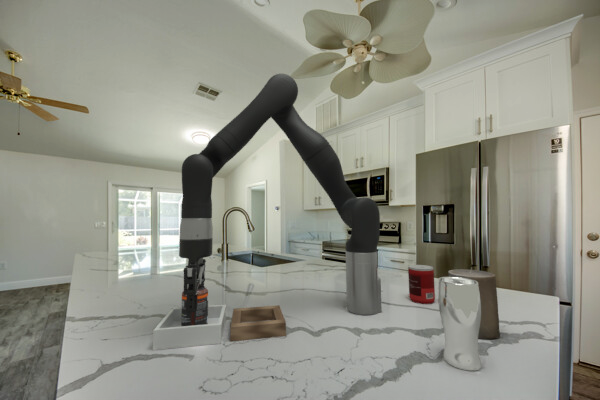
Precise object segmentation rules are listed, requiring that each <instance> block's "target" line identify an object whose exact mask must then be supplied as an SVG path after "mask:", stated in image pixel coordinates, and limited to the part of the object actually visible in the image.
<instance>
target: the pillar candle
mask: <svg viewBox="0 0 600 400" xmlns="http://www.w3.org/2000/svg"><path fill="white" fill-rule="evenodd" d="M448 277H460V278H467V279H472V280H475V281H477V282H478V286H479V292H480V299H481V322H480V329H479V335H478V339H481V340H483V339H484V340H492V339H499V338H500V337H501V333H500V318H499V303H498V302H499V301H498V291H497V279H496V274H494V273H493V272H490V271H485V270H479V269H478V270H477V269H473V267H470V269H463V268H462V269H457V268H456V269H451V270H448Z"/></svg>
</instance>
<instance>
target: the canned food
mask: <svg viewBox="0 0 600 400" xmlns="http://www.w3.org/2000/svg"><path fill="white" fill-rule="evenodd" d="M407 269H408V270H407V271H408V273H407V275H408V290H409V291H408V294H409V296H408V297H409V300H410V301H411V302H412V303H416V304H421V305H432V304H434V303H435V301H436V294H435V291H436V290H435V270H434V267H433V266H431V265H427V264H426V265H425V264H424V265H423V264H410V265H408V267H407Z"/></svg>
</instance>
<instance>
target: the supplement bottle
mask: <svg viewBox="0 0 600 400" xmlns="http://www.w3.org/2000/svg"><path fill="white" fill-rule="evenodd" d="M189 289H193V285H191V286H190V288H189ZM186 302H187V296H186V295H184V293H183V291H182V292H181V308H182V313H181V326H193V325H205V324H208V306H209V290H208V289H207V287H206V286H205V282H204V279H201V284H200V285H199V287H198V296H197V311H196V312H191V313H187V312H186Z"/></svg>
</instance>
